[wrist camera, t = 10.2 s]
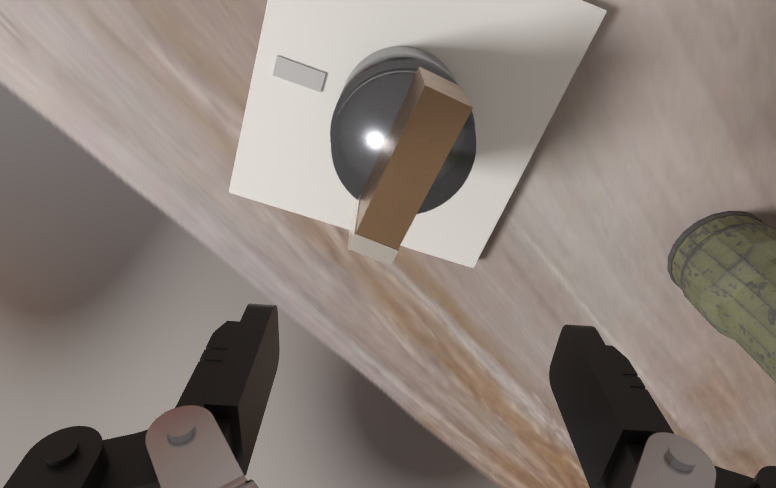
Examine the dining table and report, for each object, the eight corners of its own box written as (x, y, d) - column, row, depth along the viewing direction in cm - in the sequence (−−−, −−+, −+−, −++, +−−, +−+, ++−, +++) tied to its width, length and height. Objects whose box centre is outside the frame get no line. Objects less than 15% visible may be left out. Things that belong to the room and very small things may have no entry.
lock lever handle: (368, 37, 26) (362, 55, 20) (499, 100, 28) (530, 135, 22) (312, 177, 30) (293, 228, 24) (430, 225, 32) (439, 284, 26)
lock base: (598, 9, 34) (659, 19, 26) (470, 259, 44) (487, 318, 36) (297, -119, 30) (266, -151, 23) (233, 185, 40) (197, 233, 33)
